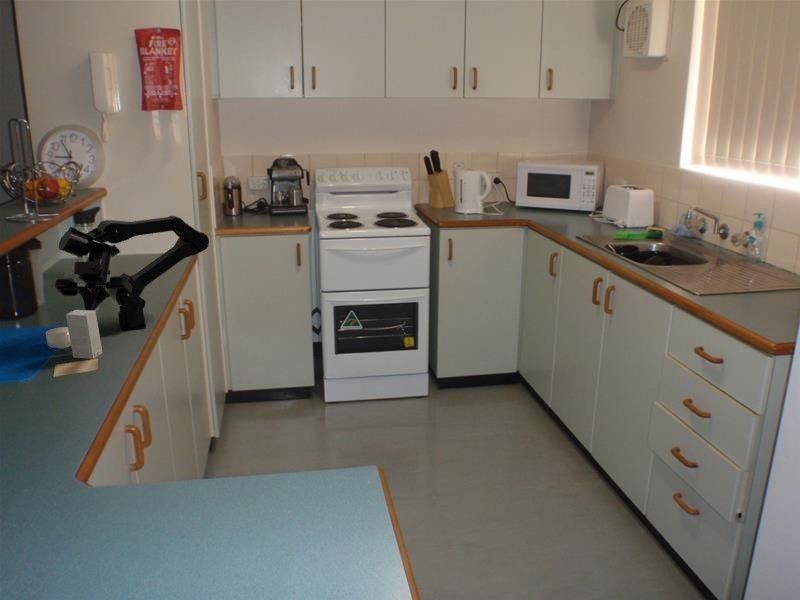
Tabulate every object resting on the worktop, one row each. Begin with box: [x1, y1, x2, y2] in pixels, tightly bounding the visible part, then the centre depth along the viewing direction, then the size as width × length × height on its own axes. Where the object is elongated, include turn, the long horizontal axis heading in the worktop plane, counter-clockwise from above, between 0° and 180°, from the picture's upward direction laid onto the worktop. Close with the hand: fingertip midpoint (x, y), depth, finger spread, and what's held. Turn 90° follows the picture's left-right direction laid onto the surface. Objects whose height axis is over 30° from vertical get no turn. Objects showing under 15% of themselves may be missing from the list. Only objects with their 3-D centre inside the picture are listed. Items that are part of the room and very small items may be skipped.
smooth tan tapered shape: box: [52, 358, 99, 378], centre depth 175 cm, size 10×8×1 cm
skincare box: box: [65, 309, 103, 360], centre depth 181 cm, size 6×4×12 cm
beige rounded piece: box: [45, 326, 71, 350], centre depth 190 cm, size 6×6×4 cm
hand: (88, 314), depth 184 cm, fingers closed
